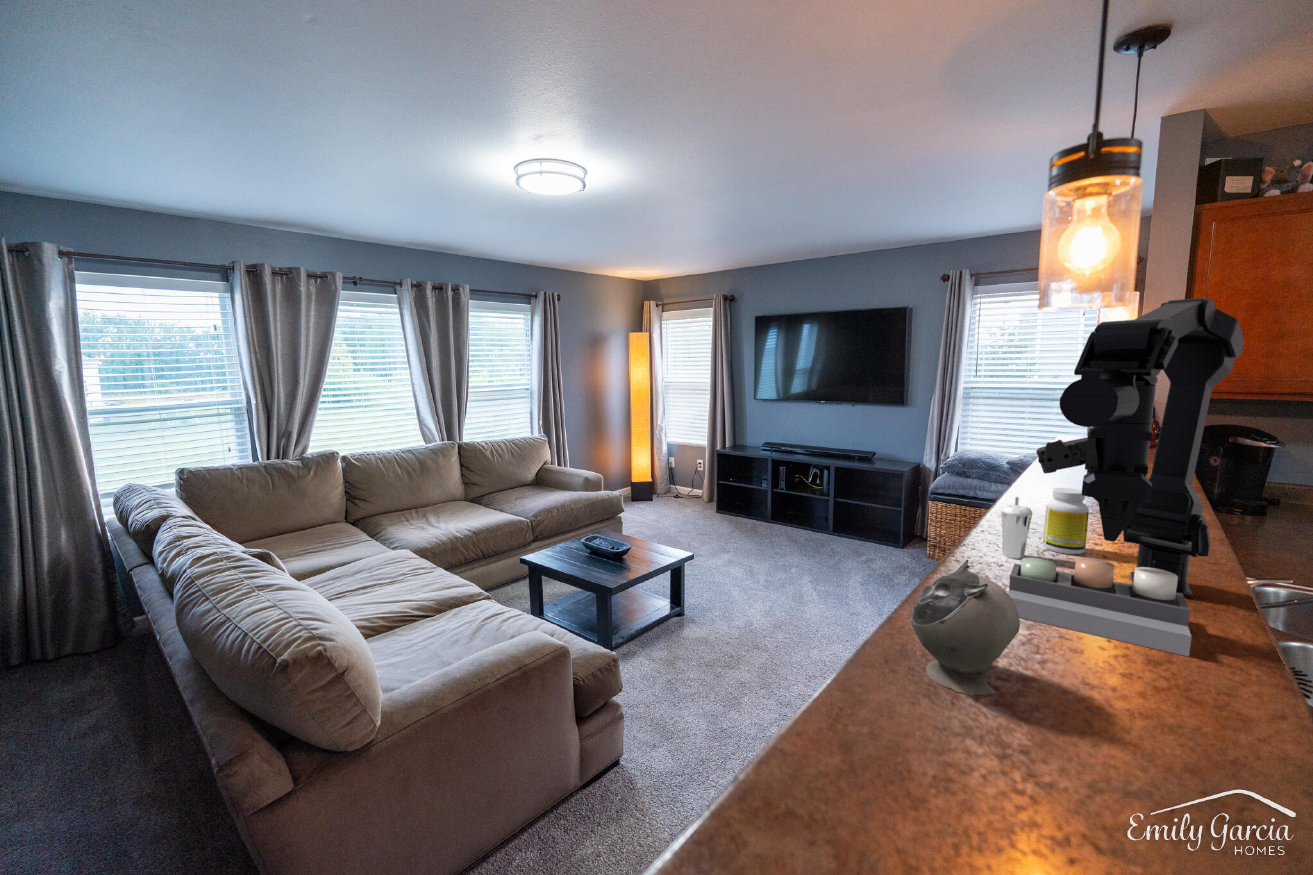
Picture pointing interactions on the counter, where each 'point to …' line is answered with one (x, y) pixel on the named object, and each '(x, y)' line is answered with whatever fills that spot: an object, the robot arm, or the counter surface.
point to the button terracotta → (1094, 572)
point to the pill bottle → (1066, 522)
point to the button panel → (1103, 611)
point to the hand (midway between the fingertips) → (1109, 540)
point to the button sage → (1038, 569)
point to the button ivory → (1155, 583)
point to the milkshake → (1015, 529)
